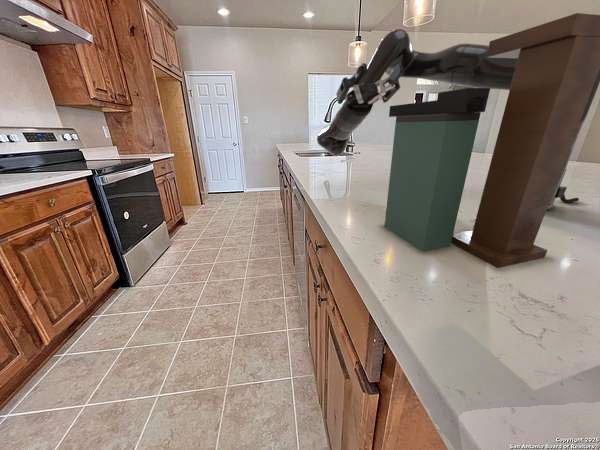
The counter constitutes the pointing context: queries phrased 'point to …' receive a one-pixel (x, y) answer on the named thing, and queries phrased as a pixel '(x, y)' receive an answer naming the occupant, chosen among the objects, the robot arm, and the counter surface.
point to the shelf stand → (533, 135)
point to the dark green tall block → (429, 176)
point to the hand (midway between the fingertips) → (383, 66)
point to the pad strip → (446, 103)
